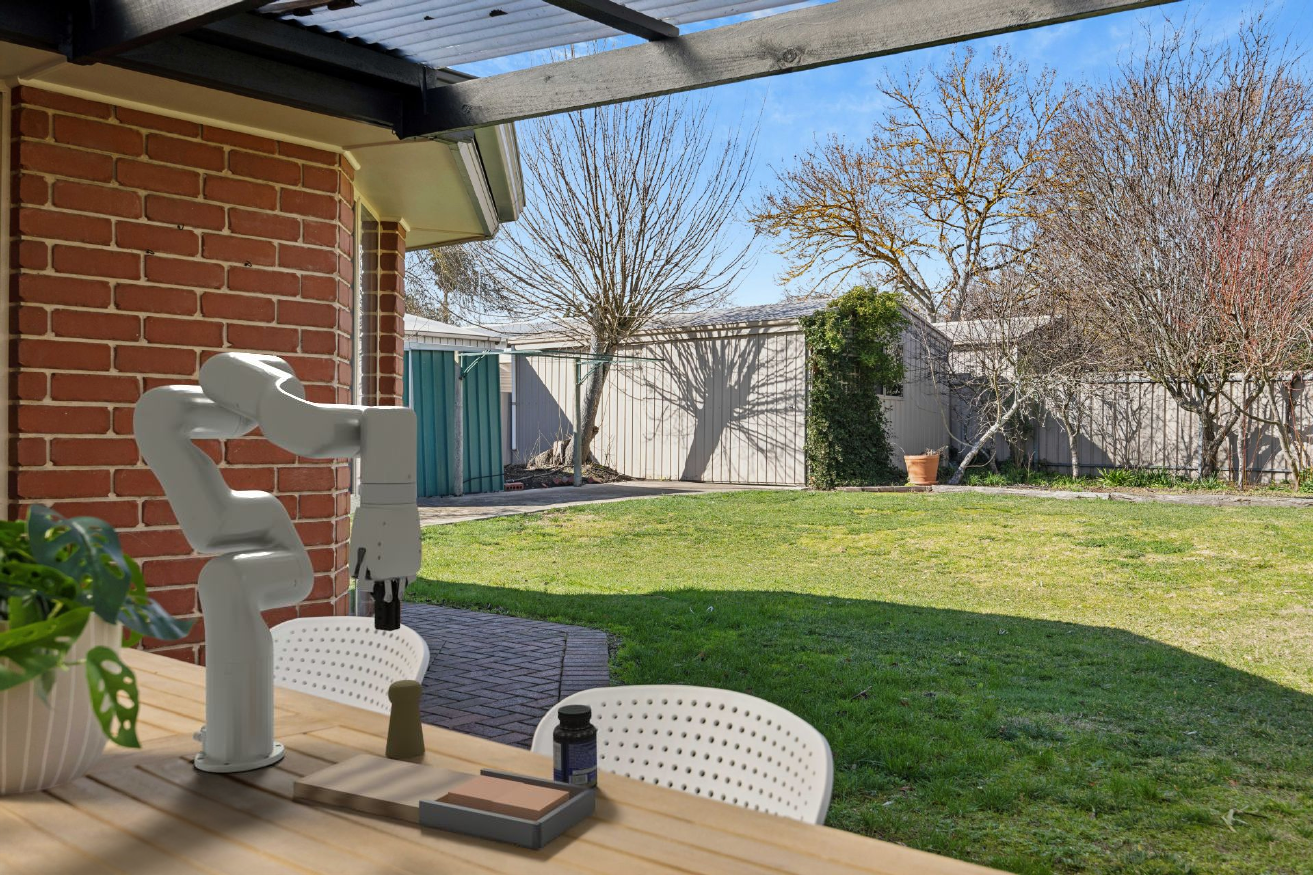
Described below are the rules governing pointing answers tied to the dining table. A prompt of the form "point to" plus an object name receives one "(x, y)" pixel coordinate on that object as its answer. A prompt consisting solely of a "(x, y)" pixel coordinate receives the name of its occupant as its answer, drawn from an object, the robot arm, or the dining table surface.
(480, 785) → the tile rear
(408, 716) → the cork
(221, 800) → the dining table surface
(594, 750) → the pill bottle
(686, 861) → the dining table surface
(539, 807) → the tile front
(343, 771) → the board
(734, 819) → the dining table surface
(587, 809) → the tray
